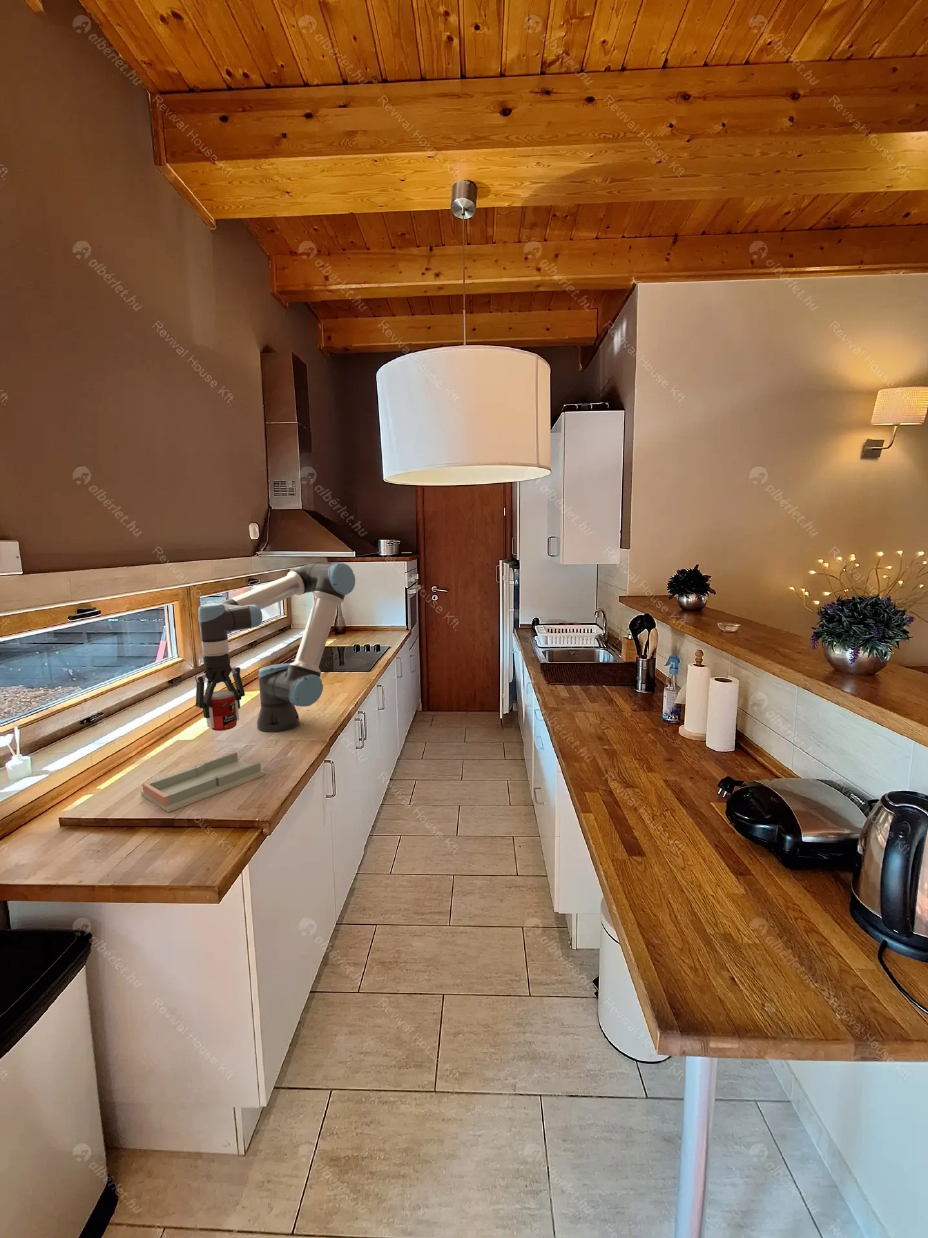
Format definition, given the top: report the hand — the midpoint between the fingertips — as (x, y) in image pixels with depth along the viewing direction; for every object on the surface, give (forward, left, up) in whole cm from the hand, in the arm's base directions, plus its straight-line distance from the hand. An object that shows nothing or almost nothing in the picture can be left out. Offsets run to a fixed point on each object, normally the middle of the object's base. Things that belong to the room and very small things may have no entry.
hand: (223, 723), depth 175 cm
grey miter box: (+14, +13, -12) cm, 22 cm away
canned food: (0, 0, -1) cm, 1 cm away
